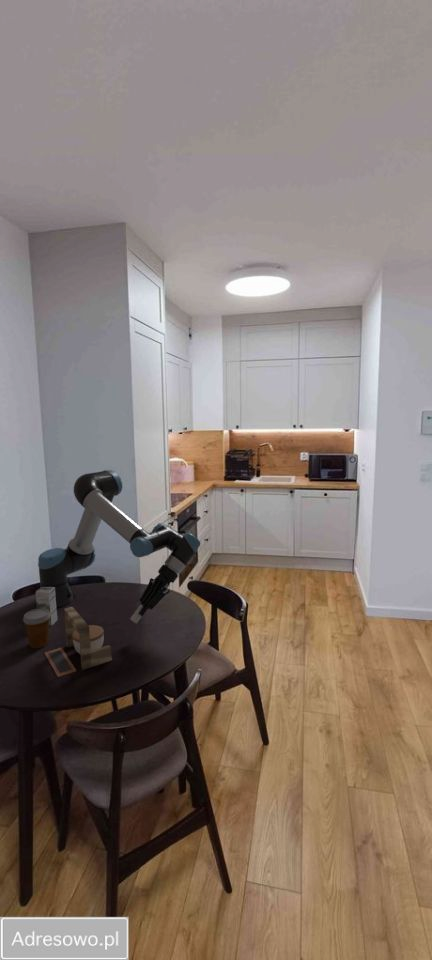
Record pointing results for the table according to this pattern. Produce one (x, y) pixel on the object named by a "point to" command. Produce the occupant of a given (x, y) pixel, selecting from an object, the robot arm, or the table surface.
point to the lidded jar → (95, 638)
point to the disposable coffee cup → (37, 627)
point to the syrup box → (47, 602)
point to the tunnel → (84, 640)
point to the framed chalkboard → (60, 662)
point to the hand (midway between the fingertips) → (133, 621)
